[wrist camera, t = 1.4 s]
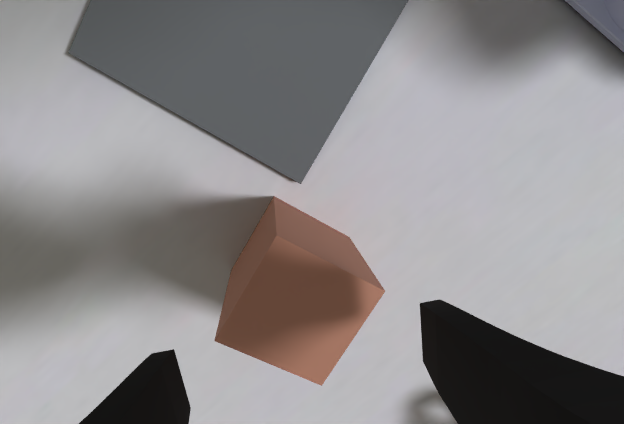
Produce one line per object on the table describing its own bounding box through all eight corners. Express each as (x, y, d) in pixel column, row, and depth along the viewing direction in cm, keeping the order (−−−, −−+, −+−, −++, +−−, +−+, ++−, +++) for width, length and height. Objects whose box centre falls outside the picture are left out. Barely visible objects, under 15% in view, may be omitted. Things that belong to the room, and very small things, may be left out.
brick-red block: (349, 237, 19) (385, 291, 13) (305, 305, 19) (321, 385, 14) (273, 196, 18) (276, 235, 12) (231, 270, 18) (214, 340, 13)
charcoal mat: (425, -32, 16) (430, -37, 15) (299, 181, 17) (300, 183, 17) (192, -219, 13) (189, -232, 13) (74, 55, 15) (68, 53, 14)
